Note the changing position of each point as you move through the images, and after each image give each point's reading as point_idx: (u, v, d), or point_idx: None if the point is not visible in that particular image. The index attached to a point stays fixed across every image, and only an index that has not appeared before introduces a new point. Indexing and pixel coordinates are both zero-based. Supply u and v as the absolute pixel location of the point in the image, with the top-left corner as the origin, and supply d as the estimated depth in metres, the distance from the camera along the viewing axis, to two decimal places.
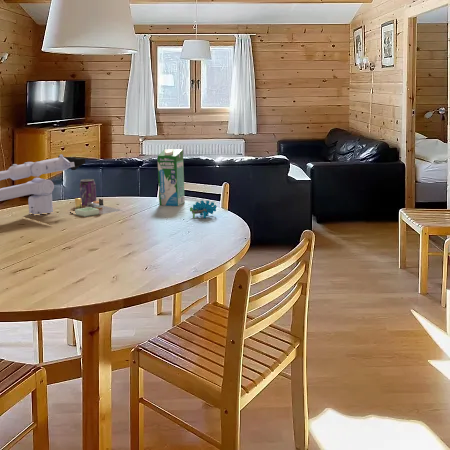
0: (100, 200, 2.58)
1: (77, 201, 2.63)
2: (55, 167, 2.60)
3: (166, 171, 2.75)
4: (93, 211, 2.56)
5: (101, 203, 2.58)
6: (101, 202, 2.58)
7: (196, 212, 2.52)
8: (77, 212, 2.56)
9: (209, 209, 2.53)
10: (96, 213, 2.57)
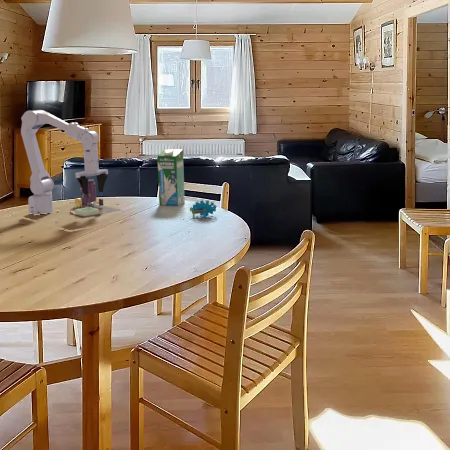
0: (100, 200, 2.58)
1: (77, 201, 2.63)
2: (86, 160, 2.50)
3: (166, 171, 2.75)
4: (93, 211, 2.56)
5: (101, 203, 2.58)
6: (101, 202, 2.58)
7: (196, 212, 2.52)
8: (77, 212, 2.56)
9: (209, 209, 2.52)
10: (96, 213, 2.57)
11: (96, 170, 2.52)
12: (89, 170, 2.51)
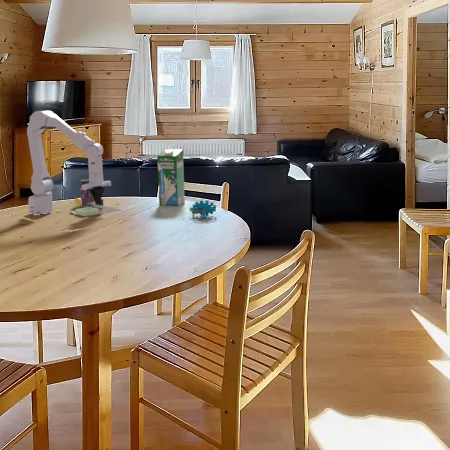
0: None
1: (77, 201, 2.63)
2: (92, 172, 2.52)
3: (166, 171, 2.75)
4: (93, 211, 2.56)
5: (101, 203, 2.58)
6: (101, 202, 2.58)
7: (196, 212, 2.52)
8: (77, 212, 2.56)
9: (209, 209, 2.52)
10: (96, 213, 2.57)
11: (101, 182, 2.54)
12: (95, 182, 2.53)
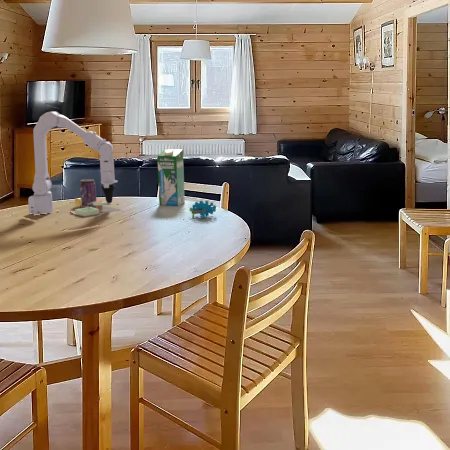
0: None
1: (77, 201, 2.63)
2: (105, 170, 2.57)
3: (166, 171, 2.75)
4: (93, 211, 2.56)
5: None
6: None
7: (196, 212, 2.52)
8: (77, 212, 2.56)
9: (209, 209, 2.52)
10: (96, 213, 2.57)
11: (114, 179, 2.62)
12: (111, 180, 2.59)
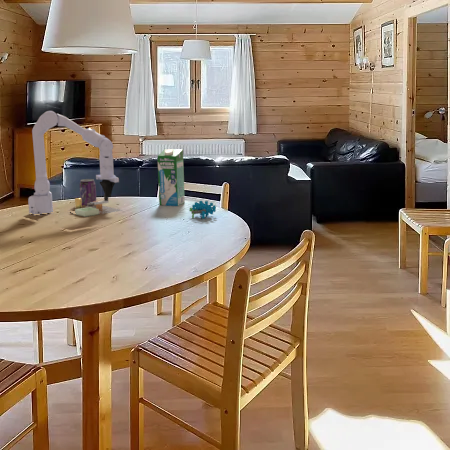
0: None
1: (77, 201, 2.63)
2: (105, 166, 2.63)
3: (166, 171, 2.75)
4: (93, 211, 2.56)
5: None
6: None
7: (195, 212, 2.51)
8: (77, 212, 2.56)
9: (208, 209, 2.52)
10: (96, 213, 2.57)
11: None
12: (113, 174, 2.66)
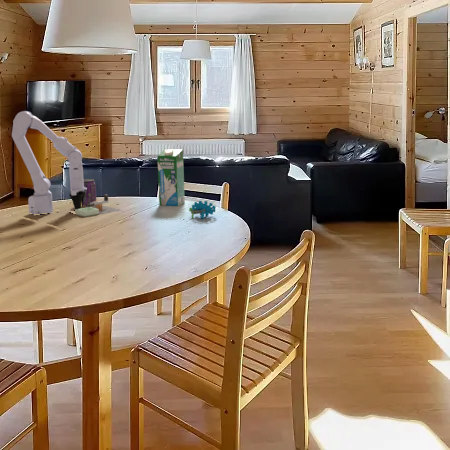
0: (107, 195, 2.70)
1: None
2: (74, 178, 2.59)
3: (166, 171, 2.75)
4: (93, 211, 2.56)
5: None
6: None
7: (195, 212, 2.51)
8: (77, 212, 2.56)
9: (208, 210, 2.51)
10: (96, 213, 2.57)
11: (83, 186, 2.63)
12: (79, 187, 2.60)
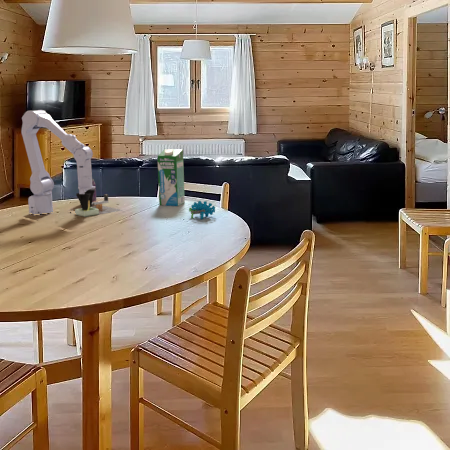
0: (107, 195, 2.70)
1: None
2: (80, 176, 2.52)
3: (166, 171, 2.75)
4: (93, 211, 2.56)
5: None
6: None
7: (195, 212, 2.51)
8: (77, 212, 2.56)
9: (208, 210, 2.51)
10: (96, 213, 2.57)
11: None
12: (88, 185, 2.53)
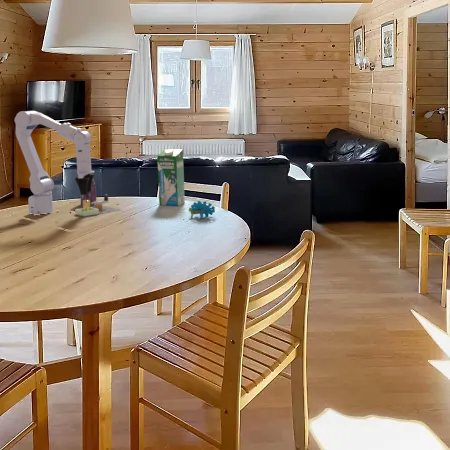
0: (107, 195, 2.70)
1: (85, 203, 2.55)
2: (79, 160, 2.50)
3: (166, 171, 2.75)
4: (93, 211, 2.56)
5: None
6: None
7: (194, 212, 2.51)
8: (77, 212, 2.56)
9: (208, 210, 2.51)
10: (96, 213, 2.57)
11: None
12: (87, 170, 2.51)
